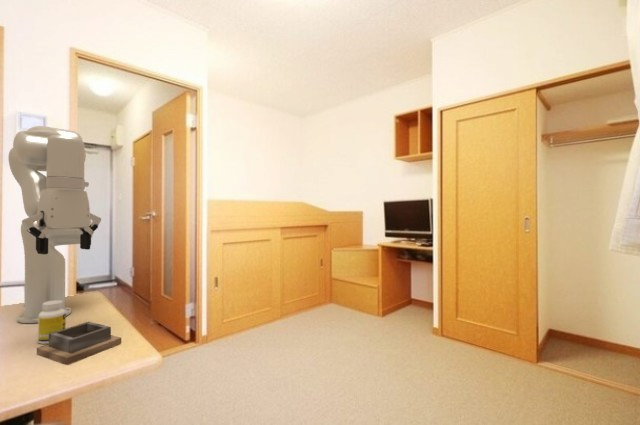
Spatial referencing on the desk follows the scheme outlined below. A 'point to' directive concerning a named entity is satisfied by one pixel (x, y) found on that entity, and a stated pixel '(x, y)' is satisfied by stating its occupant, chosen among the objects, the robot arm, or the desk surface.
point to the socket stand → (78, 342)
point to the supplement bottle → (50, 320)
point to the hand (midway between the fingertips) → (65, 251)
